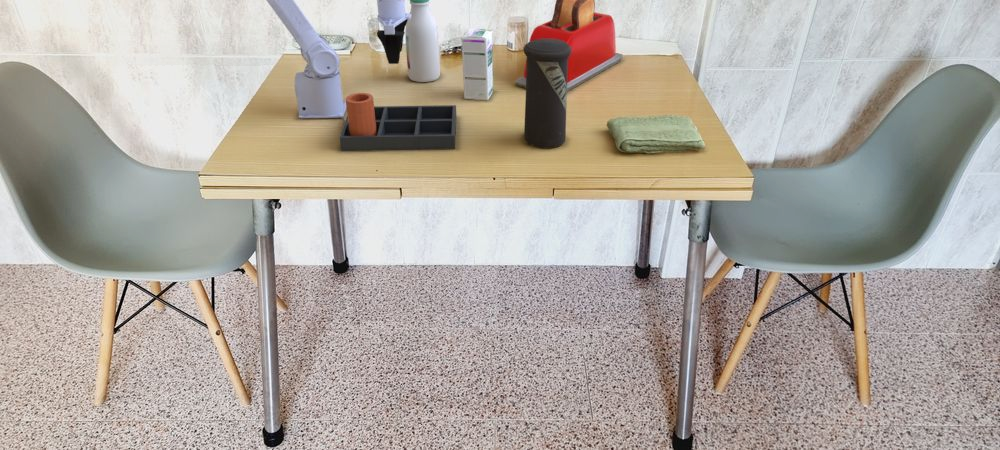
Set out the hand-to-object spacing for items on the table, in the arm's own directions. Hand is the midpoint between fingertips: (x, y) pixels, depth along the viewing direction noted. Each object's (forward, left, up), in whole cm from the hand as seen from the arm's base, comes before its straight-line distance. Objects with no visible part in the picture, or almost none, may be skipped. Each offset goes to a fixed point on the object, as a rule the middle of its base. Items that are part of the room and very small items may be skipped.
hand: (395, 57), depth 158 cm
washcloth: (+53, -23, -10) cm, 59 cm away
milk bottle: (+5, +14, -10) cm, 18 cm away
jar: (-5, -22, -10) cm, 24 cm away
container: (+31, -22, -10) cm, 39 cm away
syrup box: (+18, +2, -10) cm, 21 cm away
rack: (+2, -18, -10) cm, 21 cm away
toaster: (+41, +16, -10) cm, 45 cm away
